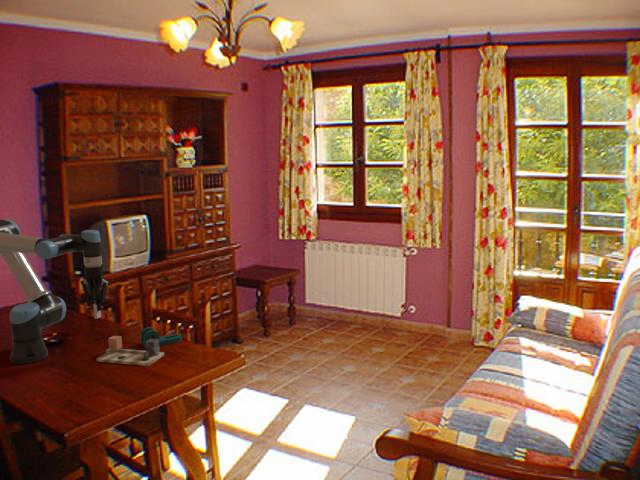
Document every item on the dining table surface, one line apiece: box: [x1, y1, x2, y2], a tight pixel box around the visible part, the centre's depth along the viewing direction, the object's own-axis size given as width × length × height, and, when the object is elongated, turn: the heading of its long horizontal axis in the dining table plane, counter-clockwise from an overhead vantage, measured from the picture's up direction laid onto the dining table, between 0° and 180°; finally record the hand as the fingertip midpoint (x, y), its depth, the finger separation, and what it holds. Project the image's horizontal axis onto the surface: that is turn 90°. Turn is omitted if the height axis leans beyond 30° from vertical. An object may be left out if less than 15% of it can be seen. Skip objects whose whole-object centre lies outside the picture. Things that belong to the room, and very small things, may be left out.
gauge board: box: [96, 339, 165, 367], centre depth 259 cm, size 25×13×8 cm, turn 75°
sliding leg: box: [104, 335, 123, 356], centre depth 263 cm, size 4×9×6 cm, turn 165°
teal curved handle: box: [140, 326, 183, 349], centre depth 278 cm, size 18×7×8 cm, turn 121°
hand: (97, 317), depth 265 cm, fingers closed
